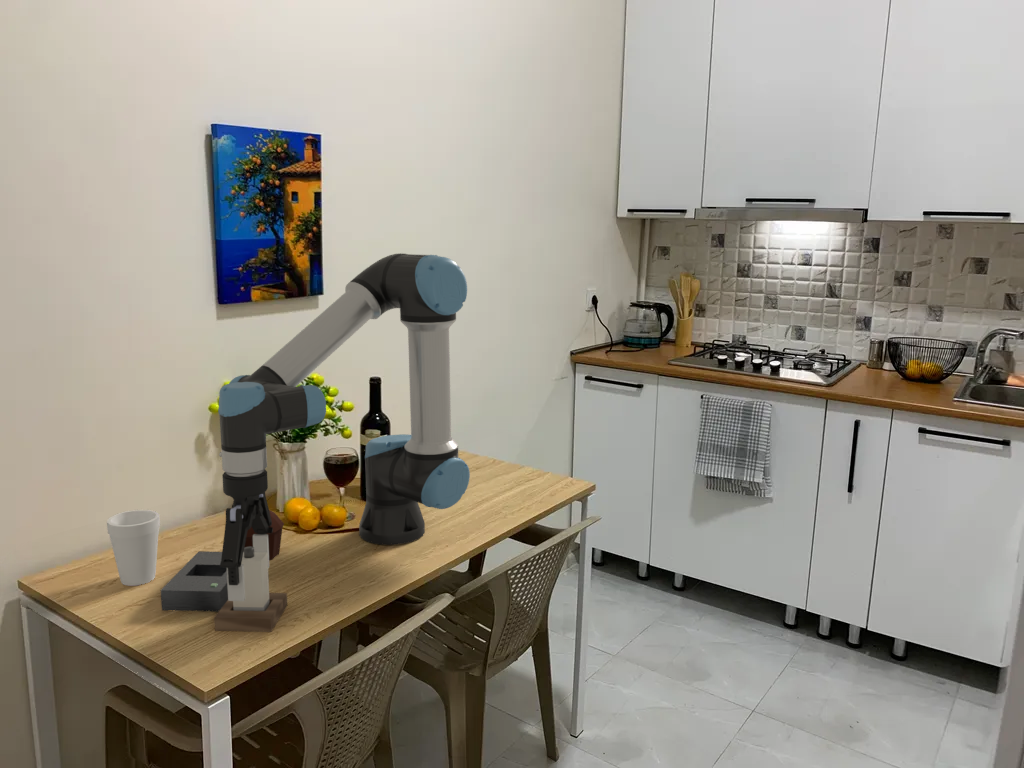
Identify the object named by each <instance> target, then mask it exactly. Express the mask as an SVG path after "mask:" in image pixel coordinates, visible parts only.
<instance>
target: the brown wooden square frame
mask: <svg viewBox="0 0 1024 768" xmlns="http://www.w3.org/2000/svg"><path fill="white" fill-rule="evenodd" d="M287 594H288V593H287V592H269V601H270V605H269V606H268V608H267V609H266V611H234V609H233V601H228V600H227V602H226V603H225V604H224V605H223V607H222V608H221V609H220V611H219V612H217V613H216V615H215V616H213V617H214V618H213V619H214V621H213V622H214V631H221V632H227V631H228V632H261V633H263V632H269V633H271V632H273V630H274V628H275V626H276V625H277V623H278V621H280V618H281V617H282V615H283V613H284V612H285V610H286V609H287V606H288V595H287Z"/></svg>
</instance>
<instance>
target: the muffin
mask: <svg viewBox="0 0 1024 768" xmlns="http://www.w3.org/2000/svg"><path fill="white" fill-rule="evenodd" d="M269 512H270V516H271V521H272V525H271V526H268V527H273V532H272V533H267V534H268V544H269V561H272V560H274V559H275V558H276V557H278V556H279V555H280V552H281V551H280V548H281V542H282V541H281V540H282V533H283V528H284V526H285V522H283V521H282V519H281V518H280V517H279V516H278V515H277V514H276V512H274V511H273V510H270V509H269ZM265 520H266V519H265ZM254 534H257V533H255V532H254V530H253V528H252V526H251V528H250V529H249V530H248V531H247V536H246V542H245V547H249V546H252V547H253V535H254ZM245 547H244V548H245Z"/></svg>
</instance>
